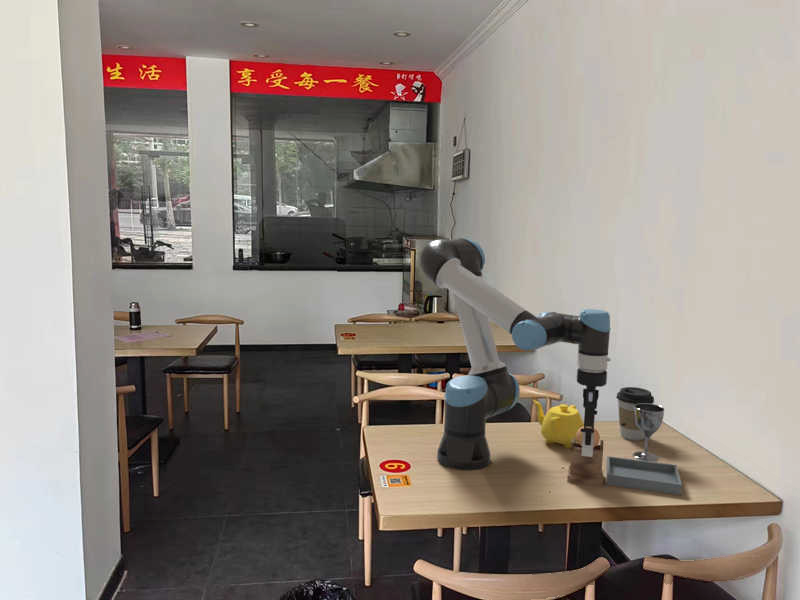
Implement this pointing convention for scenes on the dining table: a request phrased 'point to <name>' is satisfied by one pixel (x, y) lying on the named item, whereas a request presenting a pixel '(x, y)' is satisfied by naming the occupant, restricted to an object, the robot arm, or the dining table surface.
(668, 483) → the tray
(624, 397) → the coffee cup
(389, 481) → the dining table surface
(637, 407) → the silver goblet
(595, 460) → the stand
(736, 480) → the dining table surface
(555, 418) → the teapot
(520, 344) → the robot arm
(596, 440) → the ball
